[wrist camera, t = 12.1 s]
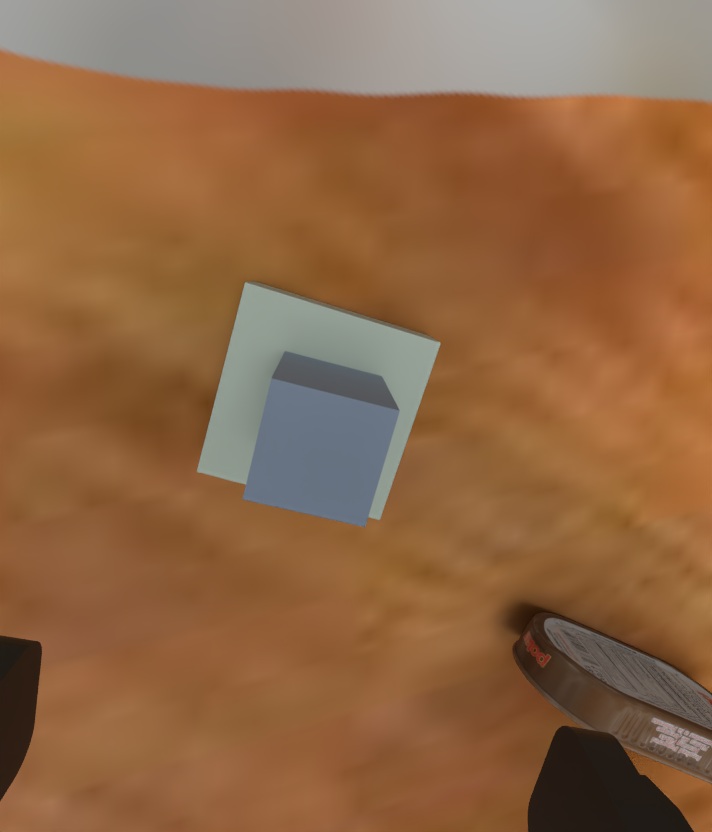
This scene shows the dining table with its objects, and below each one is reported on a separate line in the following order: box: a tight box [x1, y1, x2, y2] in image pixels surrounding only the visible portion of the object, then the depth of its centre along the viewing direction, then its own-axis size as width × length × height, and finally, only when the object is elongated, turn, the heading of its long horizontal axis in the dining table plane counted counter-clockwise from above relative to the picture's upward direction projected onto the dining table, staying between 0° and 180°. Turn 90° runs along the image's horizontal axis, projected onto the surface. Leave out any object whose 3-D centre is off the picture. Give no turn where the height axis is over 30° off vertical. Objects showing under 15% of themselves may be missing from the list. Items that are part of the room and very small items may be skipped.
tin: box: [513, 612, 712, 784], centre depth 33 cm, size 15×3×8 cm, turn 63°
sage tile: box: [197, 281, 441, 520], centre depth 30 cm, size 10×10×4 cm
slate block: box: [243, 351, 400, 527], centre depth 25 cm, size 5×5×7 cm
